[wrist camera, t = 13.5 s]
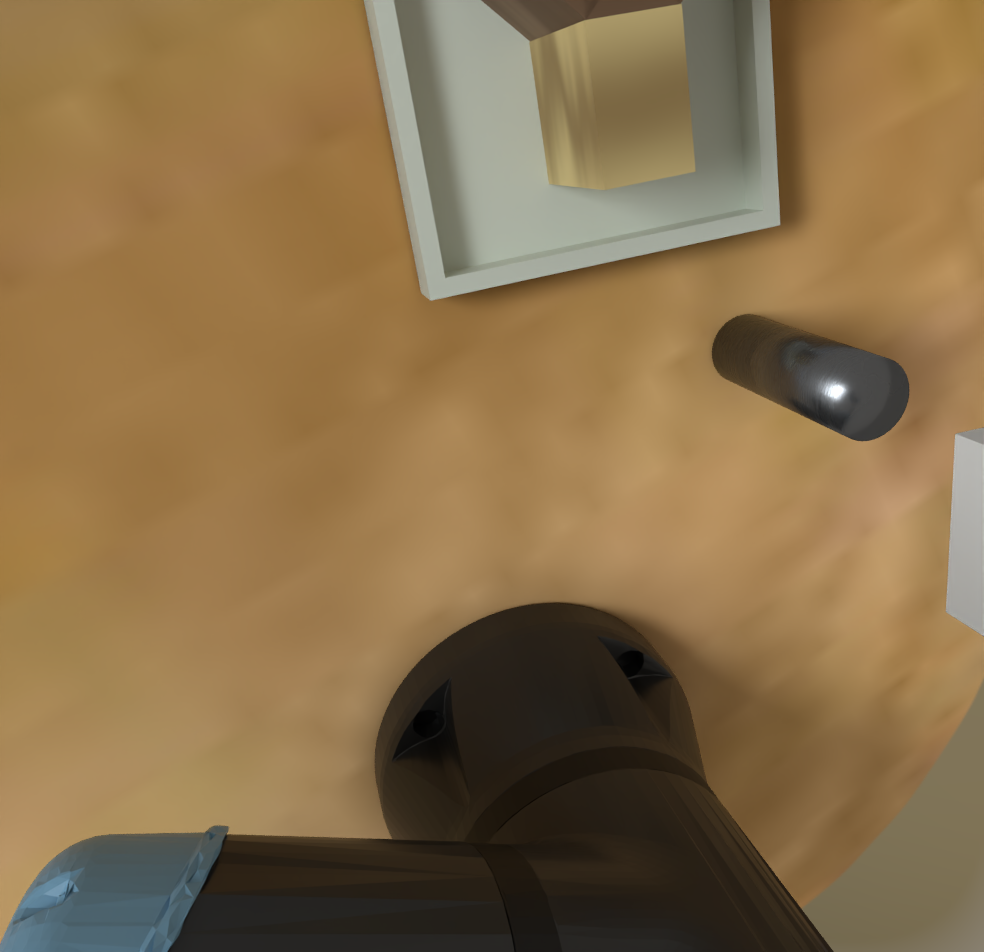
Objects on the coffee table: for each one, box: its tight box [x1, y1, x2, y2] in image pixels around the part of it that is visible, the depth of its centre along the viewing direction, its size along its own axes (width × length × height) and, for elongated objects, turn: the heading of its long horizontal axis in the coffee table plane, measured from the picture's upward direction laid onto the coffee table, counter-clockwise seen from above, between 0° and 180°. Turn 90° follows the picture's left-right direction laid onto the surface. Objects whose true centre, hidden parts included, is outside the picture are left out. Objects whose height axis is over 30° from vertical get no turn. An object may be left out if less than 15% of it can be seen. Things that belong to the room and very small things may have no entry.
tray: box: [364, 0, 780, 301], centre depth 33 cm, size 18×14×2 cm
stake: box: [712, 314, 909, 441], centre depth 36 cm, size 3×3×9 cm
